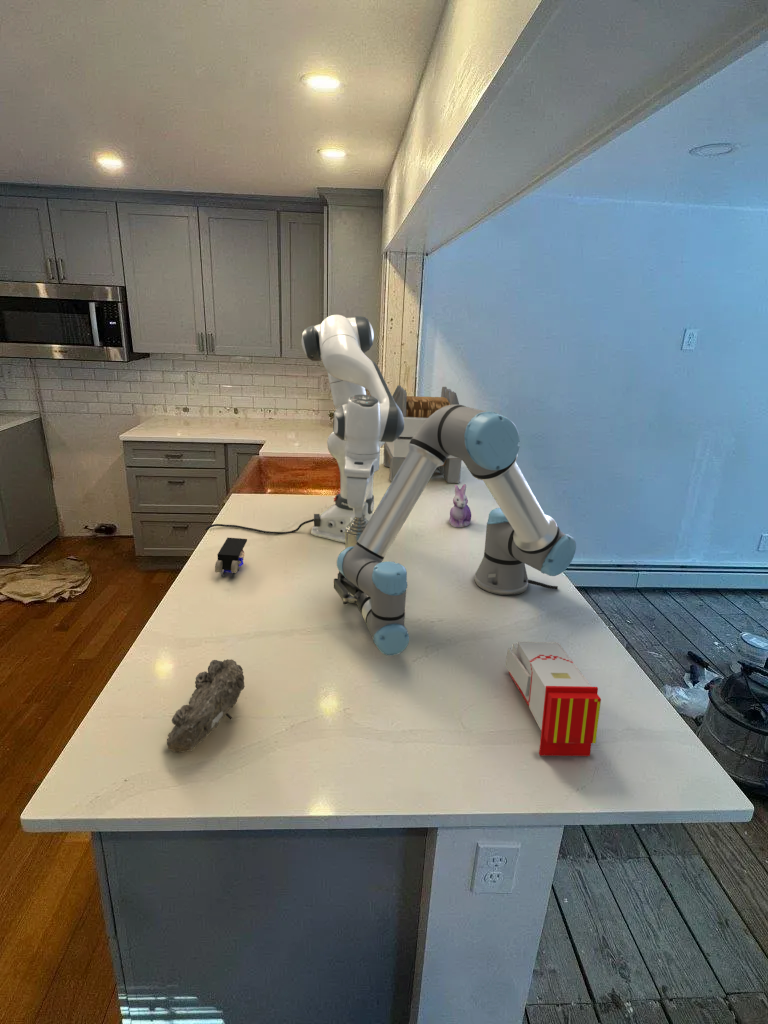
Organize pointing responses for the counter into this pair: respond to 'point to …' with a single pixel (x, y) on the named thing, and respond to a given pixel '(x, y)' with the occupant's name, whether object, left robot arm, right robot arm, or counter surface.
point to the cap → (365, 509)
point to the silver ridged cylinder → (354, 532)
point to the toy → (556, 697)
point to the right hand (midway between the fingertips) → (355, 568)
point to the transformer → (414, 417)
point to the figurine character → (230, 556)
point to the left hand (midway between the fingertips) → (360, 513)
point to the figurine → (460, 508)
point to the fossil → (206, 705)
